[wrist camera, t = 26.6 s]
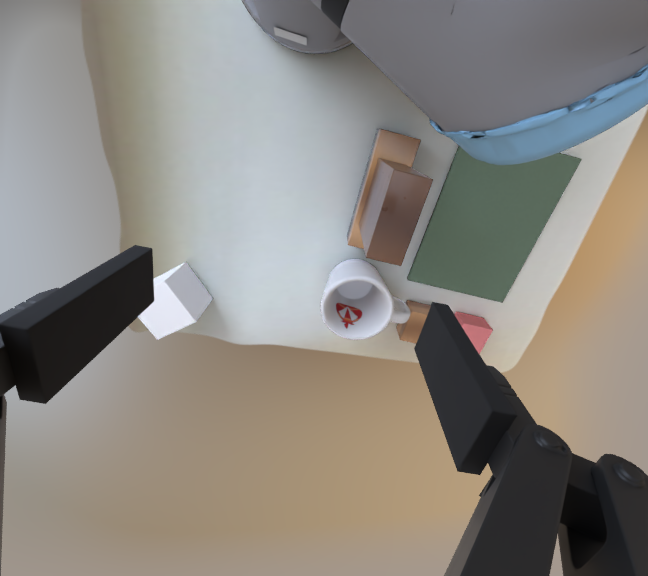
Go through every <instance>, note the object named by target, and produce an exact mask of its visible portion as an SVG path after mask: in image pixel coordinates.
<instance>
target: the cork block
mask: <svg viewBox="0 0 648 576" xmlns="http://www.w3.org/2000/svg"><path fill="white" fill-rule="evenodd" d="M406 305H407V306H408V307H409V309H410V317H409V319H408V321H407V322H405V323H402V324H400V323H398V325H397V331H398V334H399V338H400V340H403V341H407V342H412V343H417V341H418V338H419V335H420V333H421V330H422V328H423V325H424V323H425V320H426V317H427V315H428V312H429V310H430V307H431V306H430V305H426V304H422V303H417V302H413V301H409V300H407V302H406Z"/></svg>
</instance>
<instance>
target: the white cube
mask: <svg viewBox="0 0 648 576" xmlns="http://www.w3.org/2000/svg"><path fill="white" fill-rule="evenodd" d="M153 281H154V302H153V303H152V304H151V305H150V306H149V307H148V308H147V309H145V310H144V311H143V312H142V313H141V314H140V315H139V316H138V318H139V319H140V320H141V321H142V322H143V323H144V325H145V326H146V327H147V328H148V329H149V330H150V332H151V333H152V334H153V335H154V336H155V337H156V339H157V340H158V339H160V338H162V337H164V336H166V335H169V334H170V333H173V332H175V331H177V330H179V329H182V328H184V327H186V326H188V325H190V324H193V323H195V322H196V321H197V320H198V319H199V317H200V316H201V314H202V313H203V312H204V310H205V309H206V308H207V306H208V305H209V304H210V302H211V301H212V299H213V298H212V296H211V295H210V294H209V292H208V291H207V289H206V288H205V287H204V285H203V284H202V283H201V281H200V280H199V278H198V277H197V276H196V274H195V273H194V272H193V270H192V269H191V267H190V266H189V265H188V263H187V262H185V263H183V264H181V265H179V266H177V267H175V268H173V269H171V270H169V271H167V272H166V273H164V274H162V275H160V276H158V277H156V278H154V279H153Z"/></svg>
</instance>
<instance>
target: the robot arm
mask: <svg viewBox="0 0 648 576" xmlns="http://www.w3.org/2000/svg"><path fill="white" fill-rule="evenodd" d="M242 2H243V4H244V5H245V7H246V8H247V10H248V12H249V13H250V14H251V16H252V17H253V18H254V20H255V21H256V22H257V23H258V25H259V26H260V27H261V28H262V29H263V30H264V31H265V32H266V33H267V34H268V35H269V36H270V37H272V38H273V39H274V40H276V41H277V42H279V43H280V44H282V45H284V46H286V47H288V48H290V49H293V50H295V51H298V52H303V53H310V54H323V53H329V52H333V51H337V50H339V49H342V48H344V47H346V46H348V45H350V44H352V43H353V44H354V45H356V46H357V47H358V48H359V49H360V50H361V51H362V52H363V53H364V54H365V55H366V56H367V57H368V58H369V59H370V60H371V61H372V62H373V63H374V64H375V65H376V66H377V67H378V68H379V69H380V70H381V71H382V72H383V73H384V74H385V75H386V76H387V77H388V78H389V79H390V80H391V81H392V82H393V83H394V84H395V85H396V86H397V87H398V88H399V89H400V90H401V91H402V92H404V93H405V94H406V95H407V96H408V97H409V98H410V99H411V100H412V101H413V102H414V103H415V104H416V105H417V106H418V107H419V108H420V109H421V110H422V111H423V112H424V113H425V114H426V115H427V116H428V117H429V118H430V123H431V125H432V126H433V128H434V129H435V130H436V131H437V132H439V133H441V134H443V135H445V136H447V137H450V138H451V139H452V140H453V141H454V142H456V143H457V144H458V145H459V146H460V147H461V148H462V149H463V150H465V151H466V152H467V153H468V154H469V155H470V156H472V157H473V158H475V159H477V160H480V161H484V162H486V163H489V164H495V165H513V164H521V163H526V162H530V161H534V160H538V159H541V158H545V157H548V156H551V155H553V154H556V153H559V152H561V151H564V150H566V149H569V148H571V147H573V146H576V145H578V144H580V143H582V142H584V141H587V140H589V139H591V138H592V137H594V136H596V135H598V134H600V133H602V132H604V131H606V130H608V129H609V128H611V127H613V126H615V125H616V124H618V123H620V122H621V121H623V120H624V119H626V118H628V117H629V116H631V115H632V114H634V113H635V112H637V111H638V110H640V109H641V108H642V107H644V106H645V105H647V104H648V0H242ZM153 302H154V281H153V256H152V248H147V247H142V246H137V245H134V246H133V247H131V248H129V249H127V250H126V251H124V252H122V253H121V254H119V255H117V256H115V257H114V258H112V259H110V260H108V261H107V262H105V263H103V264H101V265H100V266H98V267H97V268H95V269H93V270H91V271H89V272H88V273H86V274H84V275H82V276H81V277H79V278H77V279H76V280H74V281H72V282H70V283H69V284H67V285H65V286H63V287H62V288H55V289H51V290H48V291H45V292H42V293H39V294H37V295H35V296H33V297H31V298H30V299H28V300H26V302H22V303H21V304H19V305H17V306H15V308H14V309H13V308H12V309H10V310H8V311H6V312H4V313H2V314H1V315H0V575H1V549H2V519H3V491H4V464H5V462H4V461H5V435H6V406H7V402H6V399H5V396H4V394H5V393H6V392H7V391H8V390H10V389H11V388H12V387H14V386H15V385H16V388H17V391H18V395H19V398H20V400H26V401H32V402H39V403H45V404H46V403H47V402H48V401H49V400H50V399H51V398H52V397H53V396H54V395H55V394H57V393H58V392H59V391H60V390H61V389H62V388H63V387H64V386H65V385H66V384H67V383H68V382H69V381H70V380H71V379H72V378H73V377H74V376H76V375H77V374H78V373H79V372H80V371H81V370H82V369H83V368H84V367H85V366H86V365H87V364H88V363H89V362H90V361H91V360H93V358H95V357H96V356H97V355H98V354H99V353H100V352H101V351H102V350H103V349H104V348H105V347H106V346H107V345H108V344H109V343H111V342H112V341H113V340H114V339H115V338H116V337H117V336H118V335H119V334H120V333H121V332H122V331H123V330H124V329H125V328H126V327H127V326H129V325H130V324H131V323H132V322H133V321H134V320H135V319H136V318H137V317H138V316H139V315H140V314H141V313H142V312H143V311H144V310H145V309H147V308H148V307H149V306H150V305H151V304H152V303H153ZM414 349H415V352H416V355H417V358H418V360H419V363H420V366H421V369H422V372H423V374H424V377H425V380H426V383H427V386H428V389H429V392H430V395H431V397H432V400H433V403H434V406H435V409H436V411H437V414H438V417H439V420H440V423H441V426H442V429H443V431H444V434H445V437H446V440H447V442H448V445H449V448H450V451H451V454H452V457H453V460H454V462H455V465H456V468H457V471H459V472H465V473H471V474H478V475H480V474H481V473H482V471H483V469H484V468H485V466H486V464H487V463H488V464H489V466H490V469H491V471H492V473H493V475H492V477H491V478H490V480H489V481H488V483H487V484H486V486H485V487H484V489H483V490H482V492H481V493H480V495H479V496H480V497H481V498H480V500H479V502H478V505H477V507H476V509H475V511H474V513H473V515H472V517H471V519H470V522H469V524H468V526H467V528H466V530H465V532H464V534H463V536H462V539H461V541H460V543H459V545H458V547H457V549H456V552H455V554H454V556H453V558H452V560H451V562H450V564H449V567H448V568H447V571H446V573H445V575H444V576H549V574H550V569H551V564H552V559H553V554H554V549H555V544H556V539H557V534H558V538H559V545H560V552H561V561H562V568H563V576H648V476H647V475H646V474H645V473H644V472H643V471H642V470H641V469H640V468H639V467H637V466H636V465H634V464H633V463H631V462H629V461H627V460H625V459H623V458H621V457H619V456H616V455H613V454H604V455H603V456H601V458H600V459H599V460H598V461H597V463H594V462H592V461H589V460H587V459H584V458H582V457H580V456H577V455H575V454H573V453H572V452H571V450H570V448H569V447H568V445H567V444H566V443H565V442H564V441H563V440H562V439H561V438H560V437H559V436H558V435H557V434H555V433H554V432H552V431H551V430H549V429H547V428H545V427H543V426H540V425H537V424H536V423H535V421H534V419H533V418H532V417H531V415H530V414H529V412H528V411H527V409H526V408H525V406H524V405H523V403H522V402H521V400H520V399H519V397H517V395H516V393H515V391H514V390H513V389H511V385H510V384H509V383H508V381H507V380H506V378H505V377H504V376H503V375H502V374H501V373H500V372H499V371H498V370H497V369H495V368H494V367H493V366H487V365H486V364H485V363H484V361H483V360H482V358H481V356H480V355H479V353H478V352H477V350H476V348H475V347H474V345H473V344H472V342H471V341H470V339H469V337H468V336H467V334H466V333H465V331H464V329H463V328H462V326H461V325H460V323H459V322H458V320H457V318H456V317H455V315H454V314H453V312H452V310H451V309H450V307H449V306H448V305H445V304H440V303H435V302H432V305H431V307H430V310H429V312H428V315H427V317H426V320H425V323H424V325H423V328H422V330H421V333H420V335H419V338H418V341H417V343H416V346H415V348H414Z"/></svg>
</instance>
